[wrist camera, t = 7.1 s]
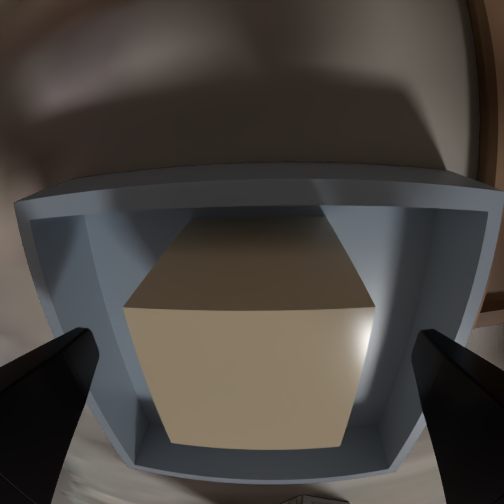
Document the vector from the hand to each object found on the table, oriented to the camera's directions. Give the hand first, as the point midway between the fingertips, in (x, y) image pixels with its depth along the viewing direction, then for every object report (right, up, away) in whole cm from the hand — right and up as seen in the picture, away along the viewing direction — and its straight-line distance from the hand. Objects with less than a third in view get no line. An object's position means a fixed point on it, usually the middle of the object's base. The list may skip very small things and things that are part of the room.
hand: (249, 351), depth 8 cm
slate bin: (0, -1, +5) cm, 5 cm away
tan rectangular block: (0, +2, +4) cm, 4 cm away
